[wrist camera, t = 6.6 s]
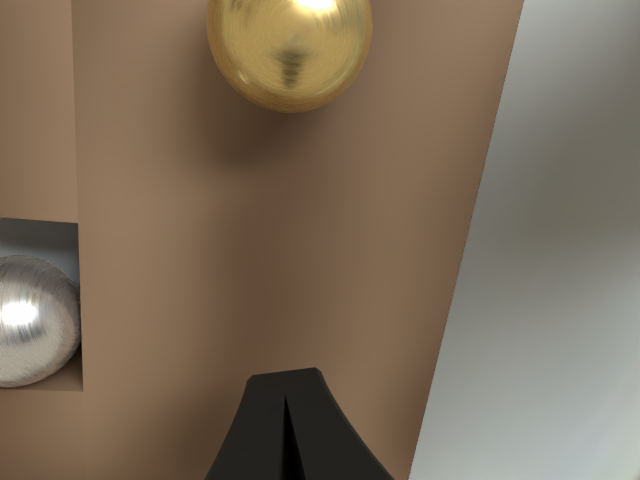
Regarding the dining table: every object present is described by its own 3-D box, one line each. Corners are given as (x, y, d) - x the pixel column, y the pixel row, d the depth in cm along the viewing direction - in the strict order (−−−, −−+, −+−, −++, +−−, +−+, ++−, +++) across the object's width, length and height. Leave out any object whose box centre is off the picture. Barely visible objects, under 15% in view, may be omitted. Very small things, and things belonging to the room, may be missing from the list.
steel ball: (-7, 271, 15) (102, 251, 15) (4, 386, 15) (115, 367, 15) (-104, 262, 12) (30, 237, 12) (-95, 408, 12) (44, 384, 12)
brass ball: (367, -42, 11) (406, -63, 8) (345, 108, 12) (373, 135, 9) (215, -67, 11) (204, -97, 8) (207, 92, 12) (194, 115, 9)
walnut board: (494, -34, 13) (534, -43, 11) (373, 519, 20) (386, 571, 18) (-268, -160, 11) (-374, -197, 9) (-122, 520, 17) (-166, 581, 15)
